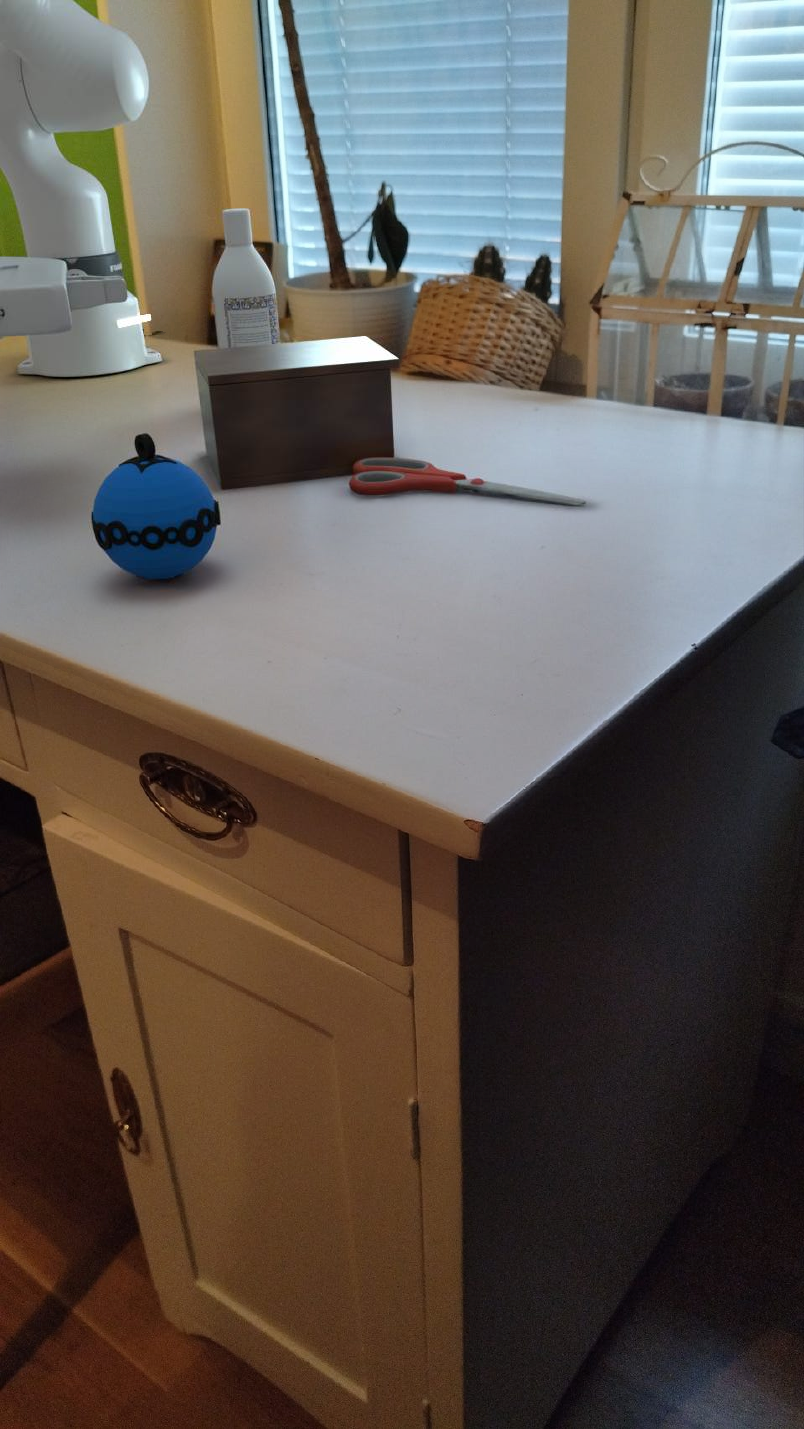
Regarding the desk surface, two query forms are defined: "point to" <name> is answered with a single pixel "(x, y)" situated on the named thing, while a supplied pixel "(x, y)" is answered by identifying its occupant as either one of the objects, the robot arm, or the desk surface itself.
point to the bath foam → (243, 289)
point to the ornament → (154, 515)
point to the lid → (293, 360)
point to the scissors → (432, 481)
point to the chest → (295, 426)
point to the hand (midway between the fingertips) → (126, 288)
